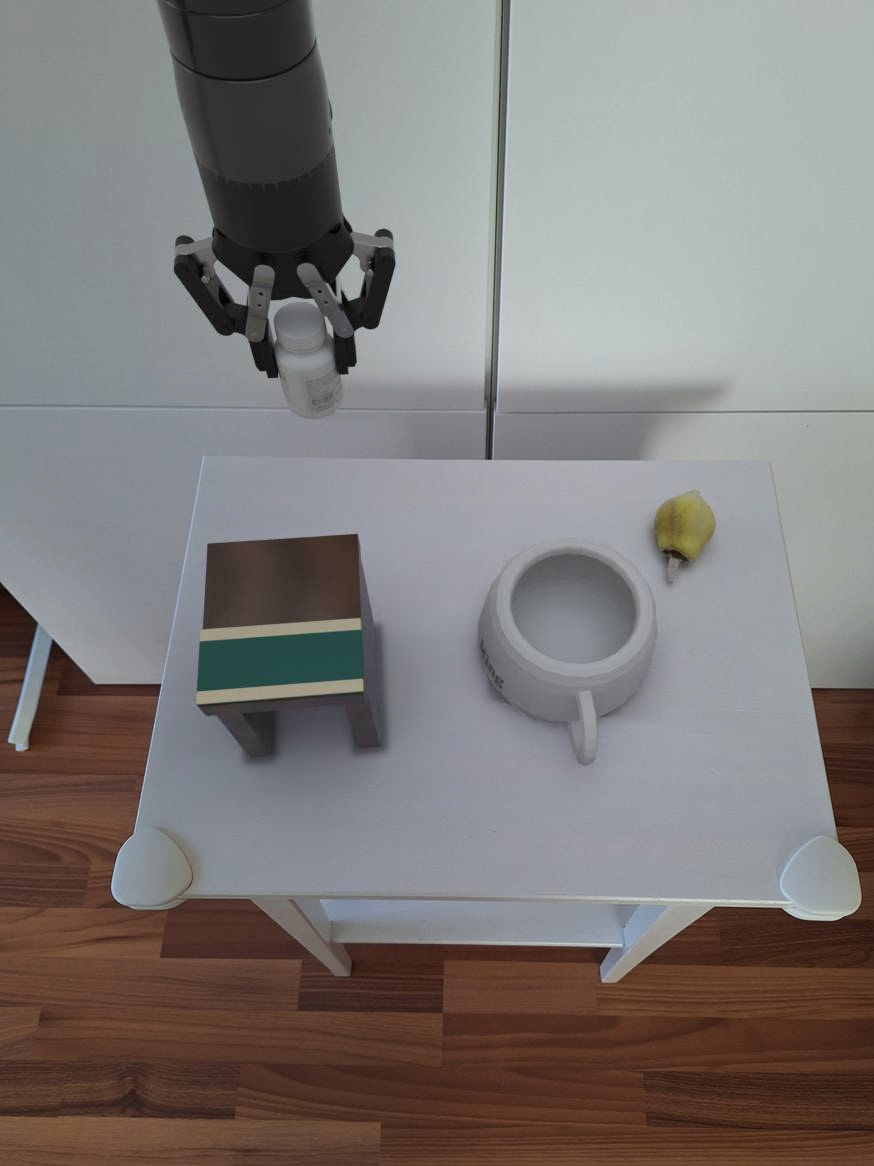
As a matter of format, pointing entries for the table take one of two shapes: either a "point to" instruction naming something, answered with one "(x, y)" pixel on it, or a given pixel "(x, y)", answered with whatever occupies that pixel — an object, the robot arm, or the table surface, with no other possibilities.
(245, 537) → the table surface
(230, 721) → the stool
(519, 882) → the table surface
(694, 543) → the fruit
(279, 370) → the pill bottle
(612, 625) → the mug
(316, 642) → the towel
